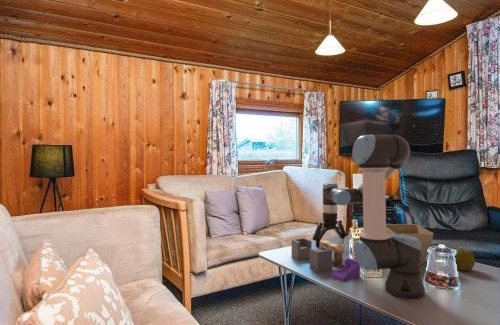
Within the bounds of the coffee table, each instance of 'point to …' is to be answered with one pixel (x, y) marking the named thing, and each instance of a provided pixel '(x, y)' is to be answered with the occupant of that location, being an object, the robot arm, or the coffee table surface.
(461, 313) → the coffee table surface
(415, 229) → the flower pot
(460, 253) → the apple
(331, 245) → the slat
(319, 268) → the end caps
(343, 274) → the bracket
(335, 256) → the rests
